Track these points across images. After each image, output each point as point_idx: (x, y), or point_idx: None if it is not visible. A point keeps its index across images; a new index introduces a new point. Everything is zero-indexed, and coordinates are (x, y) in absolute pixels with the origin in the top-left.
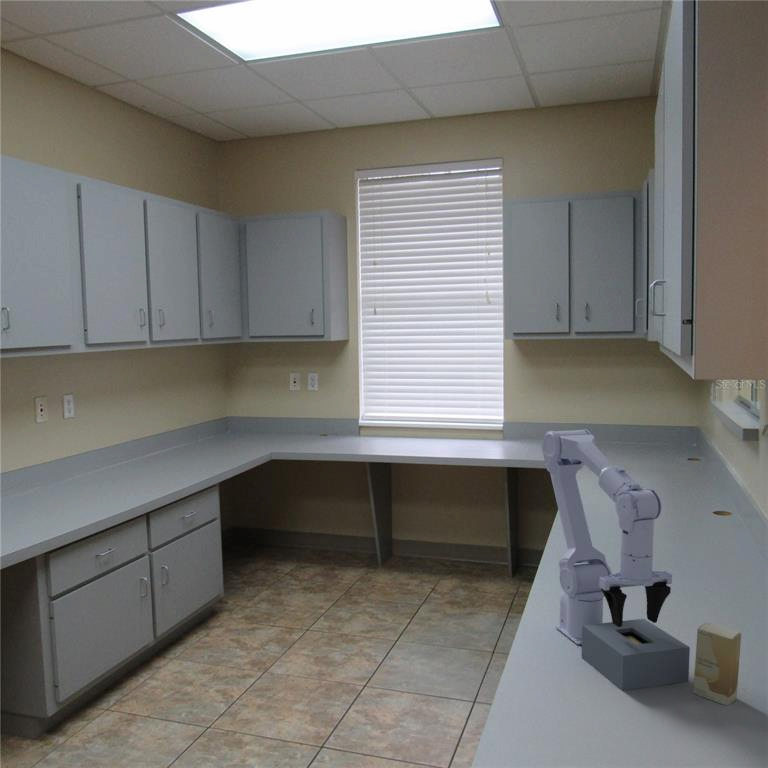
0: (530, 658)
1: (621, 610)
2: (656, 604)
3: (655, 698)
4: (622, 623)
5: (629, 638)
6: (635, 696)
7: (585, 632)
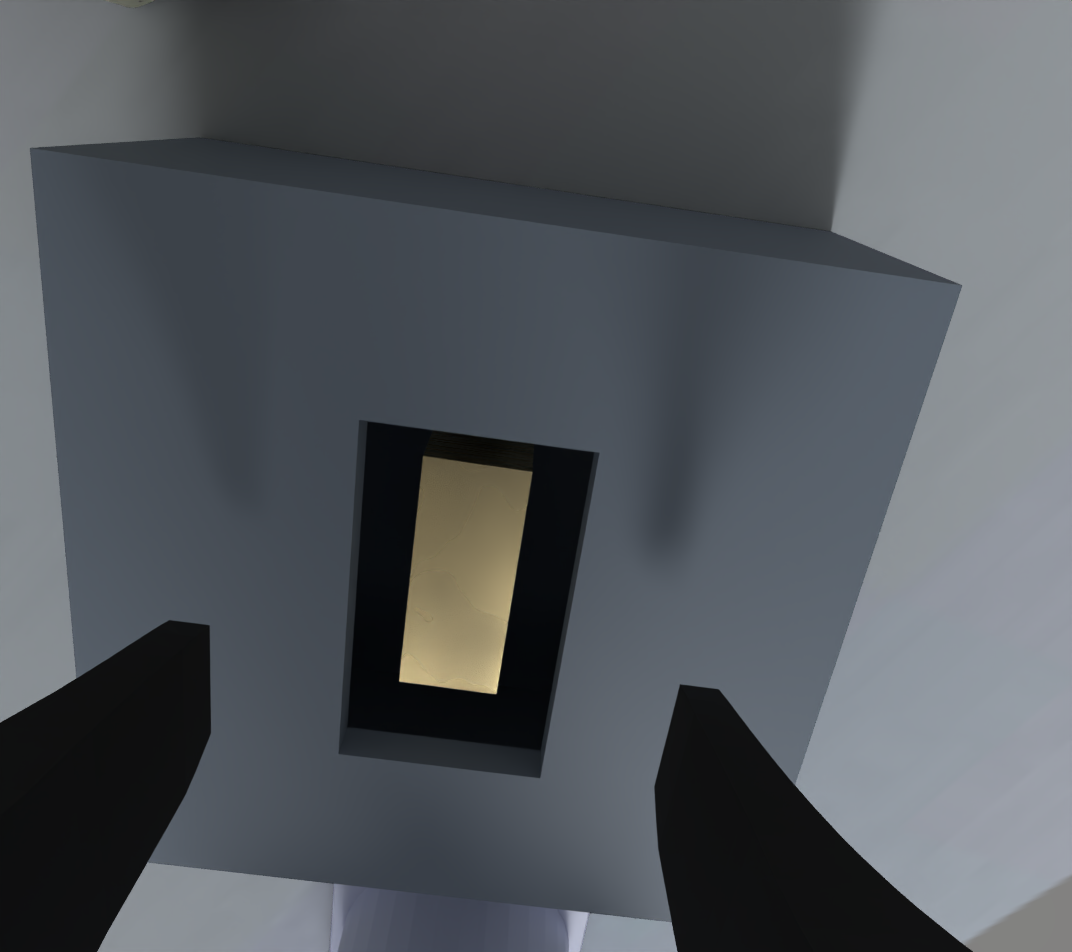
0: (1006, 828)
1: (787, 832)
2: (59, 788)
3: (684, 6)
4: (366, 847)
5: (457, 648)
6: (809, 109)
7: None
